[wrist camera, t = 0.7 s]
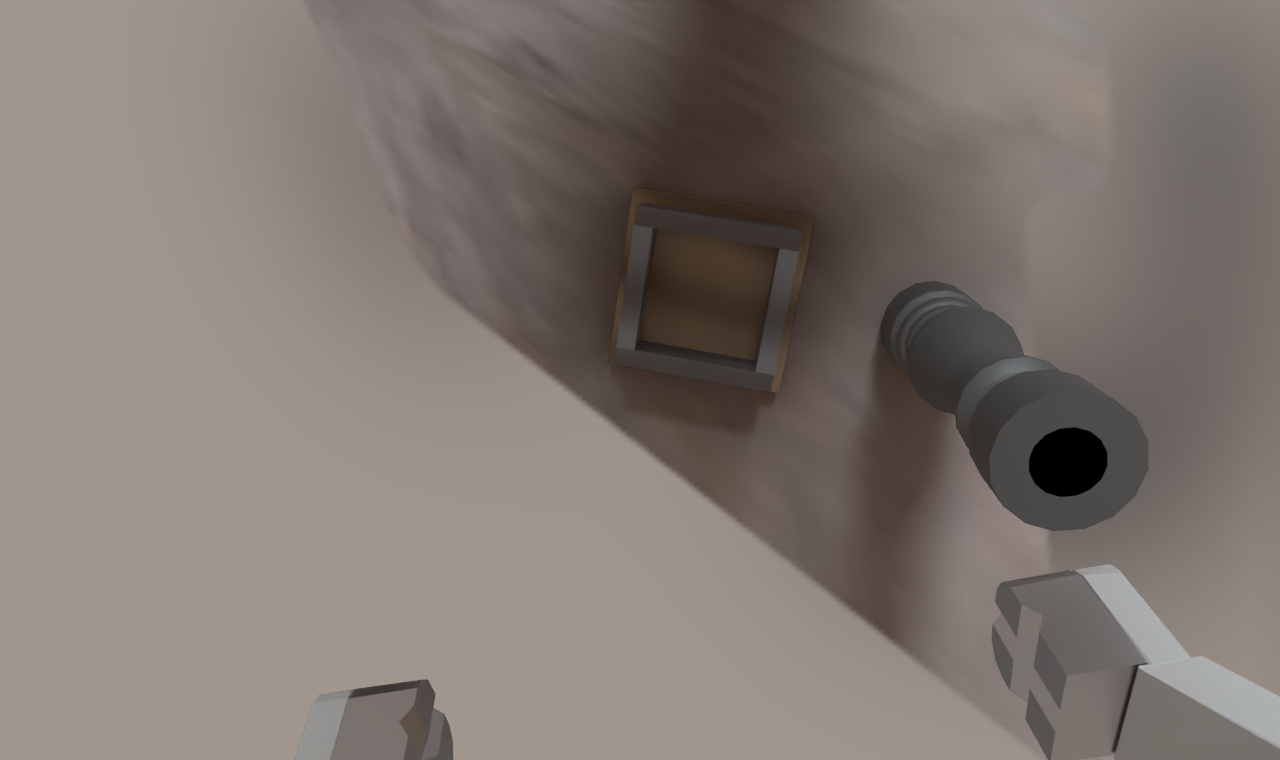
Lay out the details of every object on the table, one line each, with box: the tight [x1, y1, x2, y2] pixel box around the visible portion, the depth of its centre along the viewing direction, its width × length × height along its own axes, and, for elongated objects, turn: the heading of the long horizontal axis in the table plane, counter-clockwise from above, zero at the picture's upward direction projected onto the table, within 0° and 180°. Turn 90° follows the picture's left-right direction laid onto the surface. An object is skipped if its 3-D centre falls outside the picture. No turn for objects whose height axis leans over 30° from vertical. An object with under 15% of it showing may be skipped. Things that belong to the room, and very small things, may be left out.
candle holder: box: [881, 281, 1148, 531], centre depth 42 cm, size 6×6×25 cm
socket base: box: [608, 188, 815, 393], centre depth 53 cm, size 12×12×4 cm
